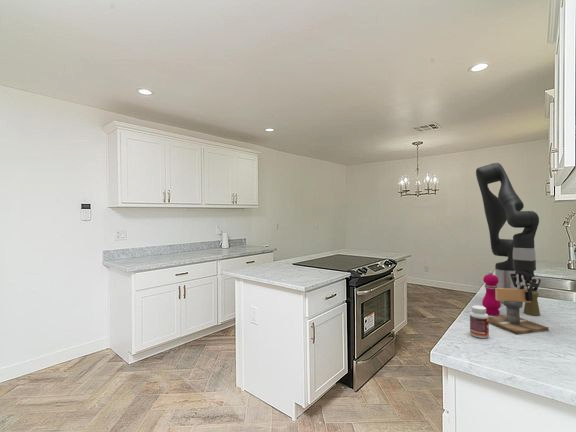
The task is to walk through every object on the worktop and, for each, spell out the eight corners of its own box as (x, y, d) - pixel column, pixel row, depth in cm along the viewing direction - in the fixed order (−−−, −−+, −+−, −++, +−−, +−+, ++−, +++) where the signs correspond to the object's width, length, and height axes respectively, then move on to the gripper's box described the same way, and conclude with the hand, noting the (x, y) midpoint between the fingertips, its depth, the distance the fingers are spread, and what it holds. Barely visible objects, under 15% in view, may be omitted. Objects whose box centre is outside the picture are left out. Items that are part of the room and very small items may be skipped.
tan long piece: (493, 302, 130) (493, 285, 130) (526, 304, 126) (525, 286, 126) (499, 306, 124) (499, 289, 123) (533, 308, 120) (533, 290, 120)
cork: (526, 315, 136) (525, 291, 136) (521, 311, 142) (521, 288, 142) (542, 316, 134) (542, 292, 134) (537, 312, 140) (536, 289, 140)
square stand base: (510, 317, 134) (510, 299, 134) (548, 330, 119) (548, 310, 119) (481, 320, 131) (481, 302, 131) (516, 334, 115) (515, 314, 115)
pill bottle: (491, 339, 112) (490, 310, 111) (472, 337, 113) (472, 309, 113) (485, 333, 117) (485, 305, 117) (468, 331, 119) (467, 304, 119)
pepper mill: (495, 311, 143) (494, 269, 143) (504, 316, 136) (503, 272, 136) (479, 310, 144) (478, 269, 144) (487, 315, 137) (487, 272, 136)
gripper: (503, 256, 131) (504, 295, 131) (528, 260, 117) (529, 304, 117) (520, 256, 131) (521, 295, 130) (547, 260, 117) (549, 304, 116)
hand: (525, 299), depth 124 cm, fingers closed on tan long piece, 3 cm apart
